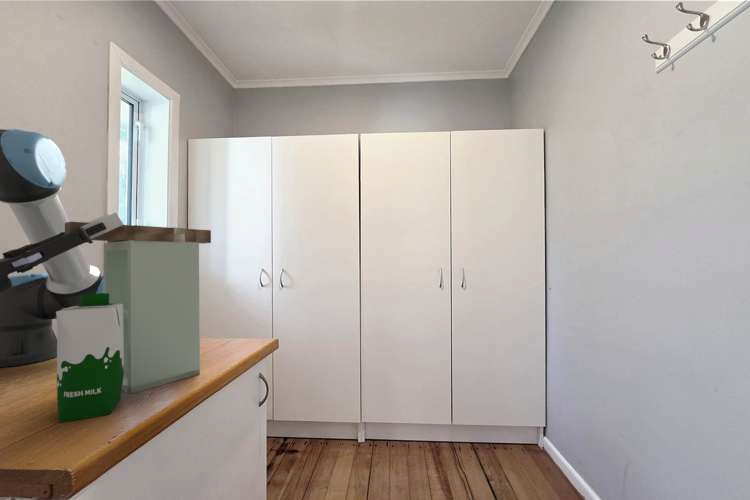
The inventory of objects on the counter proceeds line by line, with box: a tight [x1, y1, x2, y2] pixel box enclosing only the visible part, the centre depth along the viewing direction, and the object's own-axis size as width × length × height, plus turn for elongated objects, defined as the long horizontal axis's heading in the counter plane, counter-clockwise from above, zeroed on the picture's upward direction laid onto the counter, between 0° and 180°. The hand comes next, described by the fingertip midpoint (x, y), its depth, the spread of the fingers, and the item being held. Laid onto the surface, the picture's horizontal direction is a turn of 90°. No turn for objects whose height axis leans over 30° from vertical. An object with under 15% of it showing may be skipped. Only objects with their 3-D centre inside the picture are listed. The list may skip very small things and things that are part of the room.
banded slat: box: [127, 224, 196, 242], centre depth 78 cm, size 13×3×3 cm, turn 149°
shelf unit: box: [103, 240, 201, 395], centre depth 80 cm, size 14×13×30 cm
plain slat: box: [65, 221, 212, 244], centre depth 80 cm, size 28×3×3 cm, turn 146°
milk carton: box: [56, 293, 124, 423], centre depth 63 cm, size 9×9×20 cm
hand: (114, 219), depth 75 cm, fingers closed on plain slat, 3 cm apart
